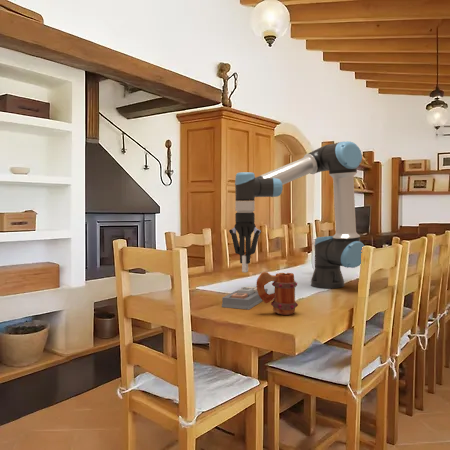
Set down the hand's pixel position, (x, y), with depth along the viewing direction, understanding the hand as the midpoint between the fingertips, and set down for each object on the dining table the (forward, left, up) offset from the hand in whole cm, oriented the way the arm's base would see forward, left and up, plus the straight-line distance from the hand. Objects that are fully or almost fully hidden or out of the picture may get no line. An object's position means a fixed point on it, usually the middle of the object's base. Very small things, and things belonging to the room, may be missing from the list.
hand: (245, 271), depth 180 cm
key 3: (0, +6, -10) cm, 12 cm away
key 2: (0, 0, -9) cm, 9 cm away
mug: (-17, +13, -12) cm, 25 cm away
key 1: (0, -7, -10) cm, 12 cm away
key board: (0, 0, -12) cm, 12 cm away
